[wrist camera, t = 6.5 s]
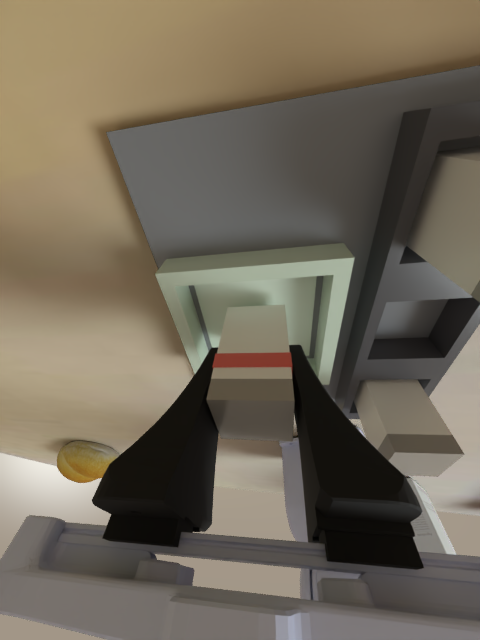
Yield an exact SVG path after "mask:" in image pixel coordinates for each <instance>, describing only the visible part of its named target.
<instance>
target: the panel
mask: <svg viewBox="0 0 480 640" xmlns="http://www.w3.org/2000/svg"><path fill="white" fill-rule="evenodd" d="M106 133H107V136H108V138H109V141H110V144H111V146H112V149H113V151H114V154H115V157H116V159H117V162H118V165H119V167H120V170H121V172H122V175H123V178H124V180H125V183H126V185H127V188H128V191H129V193H130V196H131V199H132V201H133V204H134V206H135V209H136V212H137V214H138V217H139V220H140V222H141V225H142V227H143V230H144V233H145V235H146V238H147V241H148V243H149V246H150V248H151V251H152V254H153V256H154V259H155V262H156V264H157V267H158V271H157V272H156V273H155V275H156V278H157V280H158V283H159V285H160V288H161V291H162V293H163V296H164V298H165V301H166V303H167V306H168V308H169V311H170V313H171V316H172V318H173V321H174V323H175V326H176V328H177V331H178V333H179V336H180V338H181V341H182V343H183V346H184V348H185V351H186V353H187V356H188V358H189V361H190V363H191V366H192V368H193V371H194V374H195V373H196V372H197V370H198V369H199V367H200V366H201V364H202V362H203V361H204V359H205V357H206V356H207V354H208V352H209V350H210V349H211V348H215V347H219V342H220V338H221V334H222V329H223V325H224V321H225V316H226V312H227V308H228V307H243V306H265V305H285V311H286V321H287V331H288V341H289V345H301V346H302V348H303V351H304V353H305V355H306V357H307V360H308V361H309V363H310V365H311V367H312V369H313V371H314V372H315V374H316V375H317V377H318V379H319V380H320V382H321V383H322V385H323V386H324V388H325V389H326V391H327V392H328V394H329V395H330V397H331V398H332V399H333V401H334V402H335V403H336V404H337V406H338V407H339V408H340V410H341V411H342V412H343V413H344V414H345V416H346V417H347V418H348V419H360V417H359V414H358V412H357V409H356V406H355V403H354V398H355V395H356V392H357V389H358V386H359V383H360V380H401V379H417V380H418V381H419V383H420V385H421V386H422V388H423V389H424V391H425V393H426V394H427V396H428V397H429V396H430V394H431V393H432V391H433V390H434V389H435V387H436V386H437V384H438V383H439V381H440V380H441V379H442V377H443V376H444V374H445V373H446V371H447V370H448V368H449V367H450V366H451V364H452V363H453V361H454V360H455V358H456V357H457V356H458V354H459V353H460V351H461V350H462V348H463V347H464V345H465V344H466V343H467V341H468V340H469V338H470V337H471V335H472V334H473V333H474V331H475V330H476V328H477V327H478V325H479V324H480V302H479V301H477V300H476V299H475V298H473V297H472V296H471V295H470V294H468V293H467V292H466V291H464V290H463V289H462V288H461V287H459V286H458V285H457V284H455V283H454V282H453V281H451V280H450V279H449V278H448V277H446V276H445V275H444V274H442V273H441V272H440V271H439V270H437V269H436V268H435V267H433V266H432V265H431V264H429V263H428V262H427V261H426V260H424V259H423V258H422V257H420V256H419V255H418V254H417V253H415V252H414V251H413V250H411V249H410V248H409V247H408V246H406V243H407V240H408V237H409V234H410V231H411V228H412V225H413V222H414V219H415V216H416V213H417V210H418V207H419V204H420V201H421V198H422V195H423V192H424V189H425V186H426V183H427V180H428V177H429V174H430V171H431V168H432V165H433V162H434V160H435V157H436V154H437V152H439V151H447V150H454V149H462V148H469V147H476V146H480V65H479V66H473V67H468V68H462V69H457V70H451V71H445V72H440V73H434V74H429V75H423V76H418V77H412V78H406V79H401V80H395V81H390V82H384V83H378V84H373V85H367V86H362V87H356V88H351V89H345V90H339V91H334V92H328V93H323V94H317V95H312V96H306V97H300V98H295V99H289V100H284V101H278V102H272V103H267V104H261V105H256V106H250V107H245V108H239V109H233V110H228V111H222V112H217V113H211V114H205V115H200V116H194V117H189V118H183V119H178V120H172V121H166V122H161V123H155V124H150V125H144V126H139V127H133V128H127V129H122V130H116V131H111V132H106Z"/></svg>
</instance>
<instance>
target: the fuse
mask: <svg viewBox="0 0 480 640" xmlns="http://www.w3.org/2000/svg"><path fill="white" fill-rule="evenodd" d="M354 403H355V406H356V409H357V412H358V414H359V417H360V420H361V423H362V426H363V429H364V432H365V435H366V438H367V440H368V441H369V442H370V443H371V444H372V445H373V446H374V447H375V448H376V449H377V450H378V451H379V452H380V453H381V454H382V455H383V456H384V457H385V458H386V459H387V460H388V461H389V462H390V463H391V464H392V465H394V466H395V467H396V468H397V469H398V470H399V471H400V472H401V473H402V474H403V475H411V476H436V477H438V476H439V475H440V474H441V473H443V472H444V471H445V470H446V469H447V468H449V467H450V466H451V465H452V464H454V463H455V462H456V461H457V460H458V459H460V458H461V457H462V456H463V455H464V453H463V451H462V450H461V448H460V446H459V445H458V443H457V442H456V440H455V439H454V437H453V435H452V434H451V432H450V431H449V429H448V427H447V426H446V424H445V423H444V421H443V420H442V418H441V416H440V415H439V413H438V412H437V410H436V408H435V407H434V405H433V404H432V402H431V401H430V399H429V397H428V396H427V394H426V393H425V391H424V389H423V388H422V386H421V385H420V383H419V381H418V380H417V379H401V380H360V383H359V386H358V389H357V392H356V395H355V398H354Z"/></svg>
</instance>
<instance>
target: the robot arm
mask: <svg viewBox="0 0 480 640" xmlns="http://www.w3.org/2000/svg"><path fill="white" fill-rule="evenodd" d="M217 351H218V347H215V348H211V349H210V350H209V352H208V354H207V356H206V357H205V359H204V361H203V362H202V364H201V366H200V367H199V369H198V370H197V372H196V373H195V375H194V377H193V378H192V380H191V381H190V382H189V384H188V385H187V386H186V388H185V389H184V391H183V392H182V393H181V395H180V396H179V397H178V398H177V400H176V401H175V402H174V403H173V404H172V406H171V407H170V408H169V409H168V410H167V411H166V412H165V414H164V415H163V416H162V417H161V418H160V419H159V420H158V421H157V422H156V423H155V424H154V425H153V426H152V427H151V428H150V429H149V430H148V431H147V432H146V433H145V434H144V435H143V436H142V437H141V438H139V439H138V440H137V441H136V442H135V443H134V444H133V445H132V446H131V447H129V448H128V449H127V450H126V451H125V452H123V453H122V454H121V455H120V456H119V457H117V458H116V459H115V460H114V461H112V462H111V463H110V464H109V466H108V468H107V470H106V471H105V473H104V475H103V477H102V480H101V482H100V484H99V486H98V488H97V490H96V493H95V495H94V497H93V499H92V502H93V504H94V505H95V506H97V507H99V508H100V509H102V510H104V511H106V512H108V513H110V514H111V517H110V520H109V522H108V525H107V526H104V525H91V524H79V523H67V522H65V521H64V520H61V519H58V518H54V517H44V516H32V515H30V516H28V517H26V519H25V520H24V522H23V524H22V525H21V527H20V529H19V530H18V532H17V533H16V535H15V537H14V538H13V540H12V542H11V543H10V545H9V546H8V548H7V550H6V551H5V553H4V555H3V557H2V558H1V560H0V614H3V615H8V616H13V617H18V618H22V619H26V620H30V621H35V622H39V623H43V624H47V625H51V626H55V627H59V628H63V629H67V630H71V631H75V632H79V633H83V634H87V635H91V636H95V637H99V638H103V639H107V640H480V557H477V556H465V555H453V554H441V553H429V552H418V550H417V547H416V544H415V542H414V539H413V537H415V533H414V530H413V527H412V525H411V521H413V520H414V519H416V518H418V517H419V516H420V515H421V513H422V509H421V506H420V503H419V501H418V499H417V497H416V495H415V493H414V491H413V489H412V488H411V486H410V484H409V482H408V481H407V479H406V477H405V476H404V475H403V474H402V473H401V472H400V471H399V470H398V469H397V468H396V467H395V466H394V465H392V464H391V463H390V462H389V461H388V460H387V459H386V458H385V457H384V456H383V455H382V454H381V453H380V452H379V451H378V450H377V449H376V448H375V447H374V446H373V445H372V444H371V443H370V442H369V441H368V440H367V439H366V438H365V436H364V434H363V433H362V431H361V429H360V428H358V427H355V426H354V425H353V424H352V423H351V422H350V420H349V419H348V418H347V417H346V416H345V414H344V413H343V412H342V411H341V410H340V408H339V407H338V406H337V404H336V403H335V402H334V401H333V399H332V398H331V397H330V395H329V394H328V392H327V391H326V389H325V388H324V386H323V385H322V383H321V382H320V380H319V379H318V377H317V375H316V374H315V372H314V371H313V369H312V367H311V365H310V363H309V361H308V360H307V357H306V355H305V353H304V351H303V348H302V346H301V345H289V351H290V352H291V358H292V381H293V391H294V401H295V403H294V415H295V420H296V426H297V432H298V437H297V438H293V442H290V441H279V445H280V446H281V447H282V460H283V476H284V492H285V505H286V513H287V518H288V522H289V526H290V529H291V532H292V534H293V536H294V538H295V539H296V541H283V540H272V539H259V538H248V537H236V536H224V535H211V534H200V533H192V532H200V531H206V530H207V529H208V528H209V527H210V525H211V524H212V507H213V488H214V476H215V463H216V452H217V442H218V433H219V431H218V429H217V426H216V423H215V421H214V418H213V416H212V413H211V411H210V408H209V405H208V403H207V400H206V399H207V394H208V390H209V386H210V381H211V377H212V373H213V367H212V366H213V362H214V358H215V354H217ZM155 554H162V555H171V556H182V557H193V558H202V559H212V560H222V561H232V562H243V563H253V564H264V565H273V566H283V567H294V568H301V574H300V596H301V599H298V598H290V597H282V596H273V595H266V594H257V593H248V592H240V591H232V590H223V589H214V588H206V587H197V586H192V582H193V576H194V569H193V568H190V567H186V566H182V565H180V564H179V563H174V562H167V561H161V560H157V559H156V556H155Z"/></svg>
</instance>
